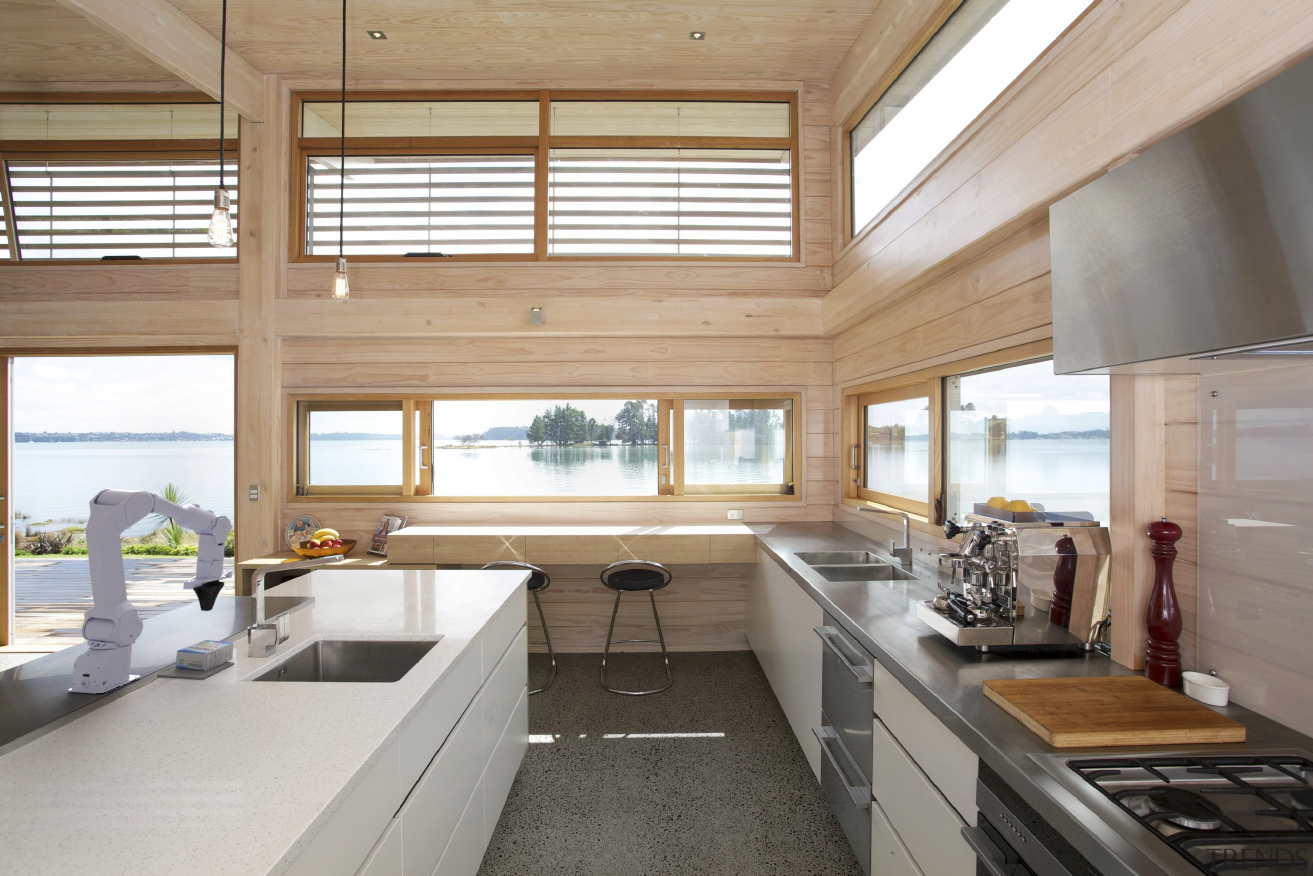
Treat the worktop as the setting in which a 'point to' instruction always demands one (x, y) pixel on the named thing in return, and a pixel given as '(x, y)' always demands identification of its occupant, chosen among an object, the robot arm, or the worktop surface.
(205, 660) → the medicine box
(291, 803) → the worktop surface
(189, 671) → the grey rubber pad
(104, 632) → the robot arm
